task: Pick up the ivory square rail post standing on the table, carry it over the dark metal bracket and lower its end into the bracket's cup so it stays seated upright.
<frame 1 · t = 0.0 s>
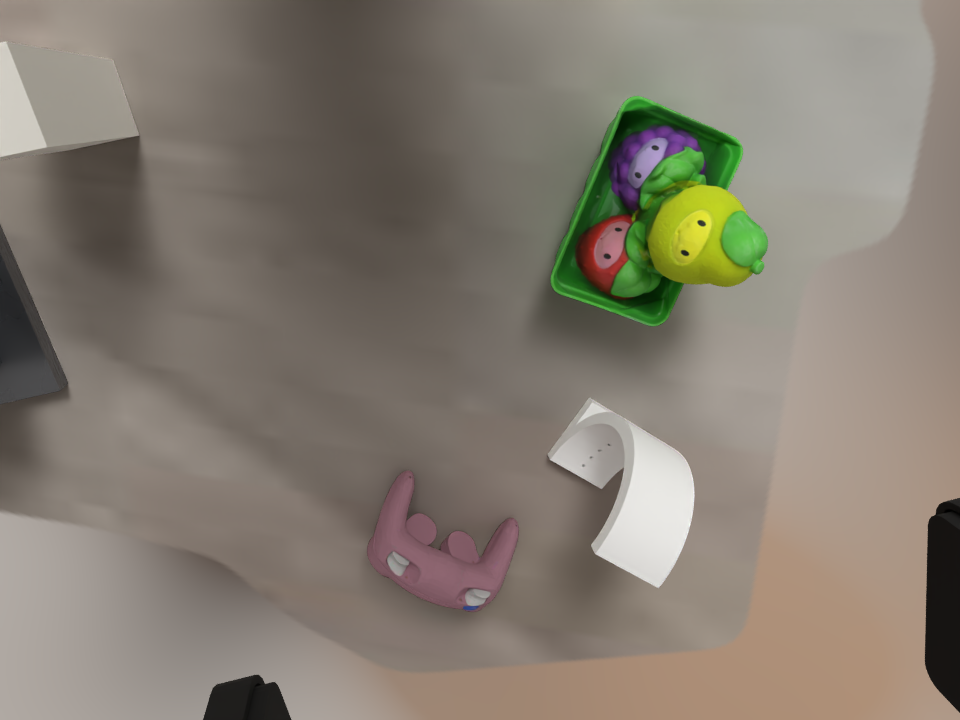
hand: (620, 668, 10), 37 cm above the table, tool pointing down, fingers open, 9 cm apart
fruit basket: (625, 208, 46), on the table
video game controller: (442, 521, 52), on the table
headphone stand: (597, 434, 51), on the table
rail post: (90, 105, 40), on the table
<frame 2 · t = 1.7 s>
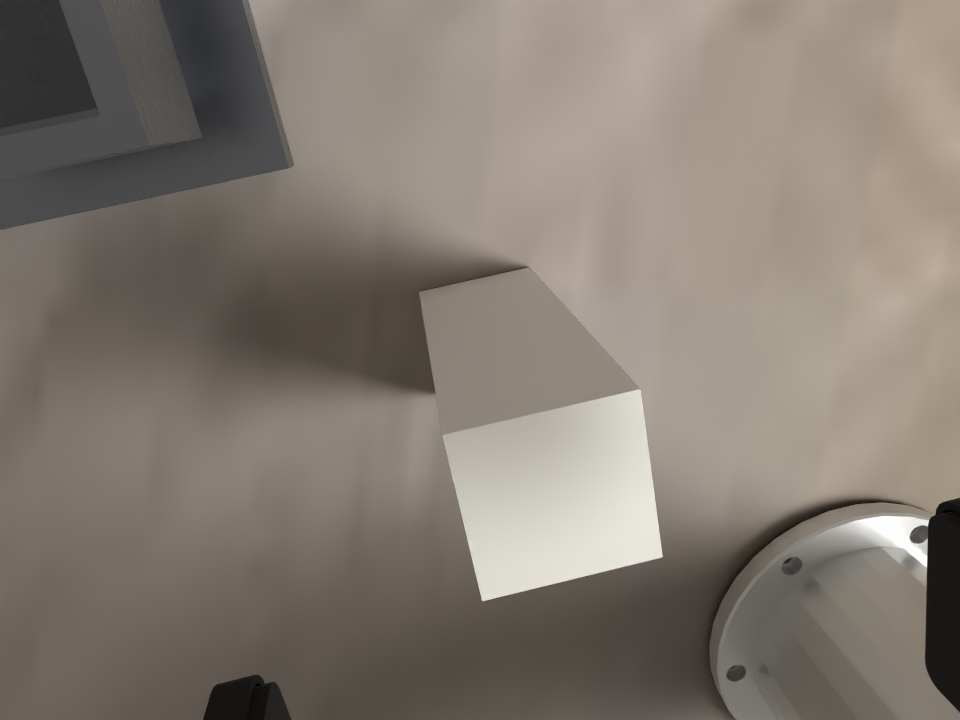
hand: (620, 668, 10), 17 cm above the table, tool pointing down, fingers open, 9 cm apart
rail post: (485, 332, 26), on the table
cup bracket: (81, 30, 22), on the table
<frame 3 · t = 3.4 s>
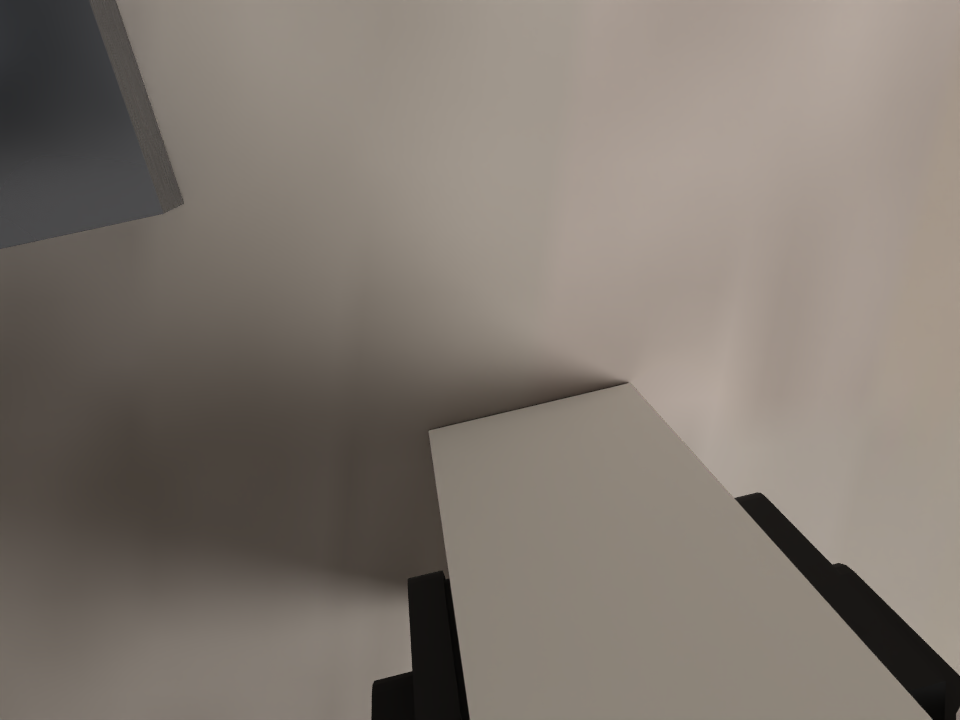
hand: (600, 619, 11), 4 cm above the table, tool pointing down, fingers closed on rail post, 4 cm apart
rail post: (547, 495, 15), on the table, touching gripper
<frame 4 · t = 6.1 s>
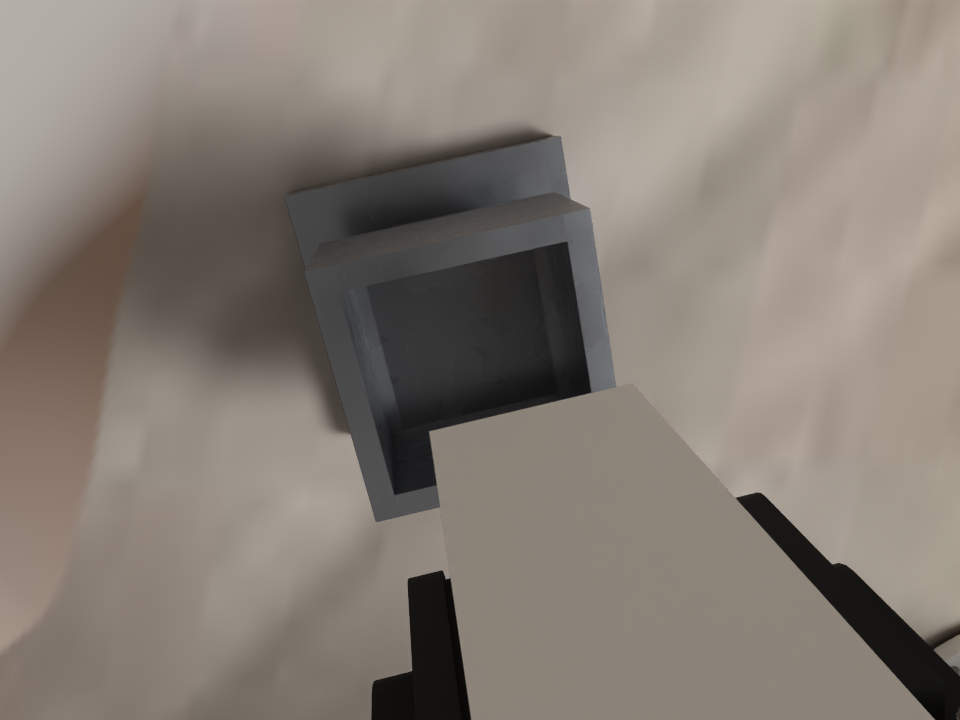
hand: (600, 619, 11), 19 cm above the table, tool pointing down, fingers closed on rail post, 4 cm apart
rail post: (548, 496, 15), point 15 cm above the table, touching gripper
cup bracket: (450, 293, 29), on the table
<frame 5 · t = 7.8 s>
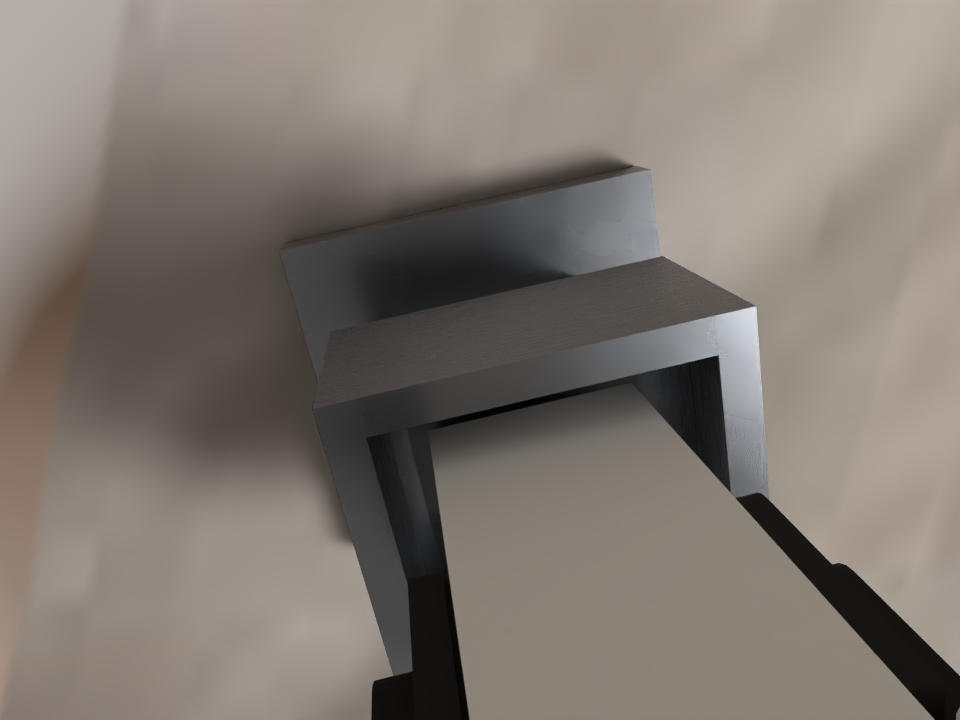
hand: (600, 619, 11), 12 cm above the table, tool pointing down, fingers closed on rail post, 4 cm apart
rail post: (547, 495, 15), point 8 cm above the table, touching gripper
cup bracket: (496, 368, 22), on the table
when the fingers open (11 cm above the table, at t = 9.0 s): rail post stays where it is, resting on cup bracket.
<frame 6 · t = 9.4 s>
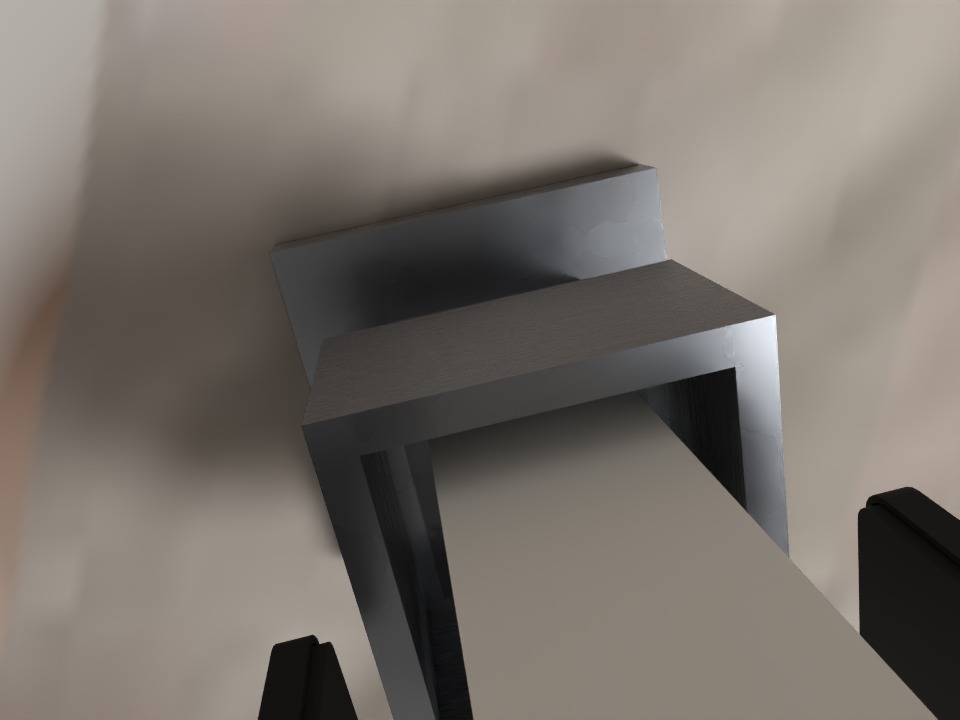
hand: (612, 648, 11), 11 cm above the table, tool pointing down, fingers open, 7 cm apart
rail post: (537, 475, 16), point 6 cm above the table, touching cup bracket
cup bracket: (495, 374, 21), on the table
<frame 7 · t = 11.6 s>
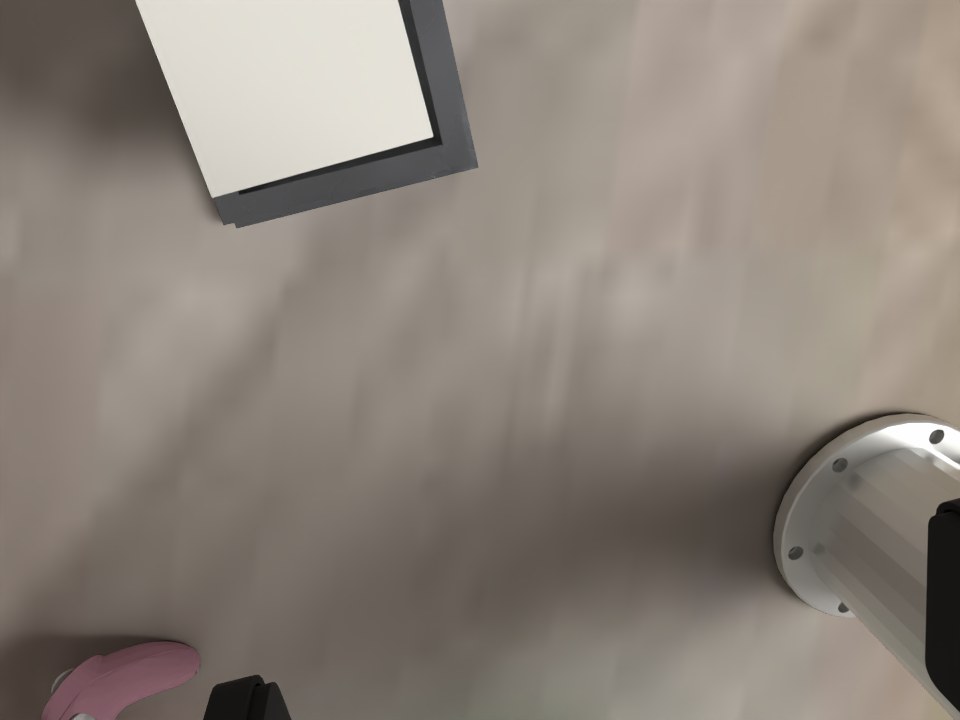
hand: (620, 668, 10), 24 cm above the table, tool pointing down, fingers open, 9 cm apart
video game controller: (117, 695, 38), on the table
rail post: (316, 65, 23), point 6 cm above the table, touching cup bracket
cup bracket: (323, 67, 29), on the table
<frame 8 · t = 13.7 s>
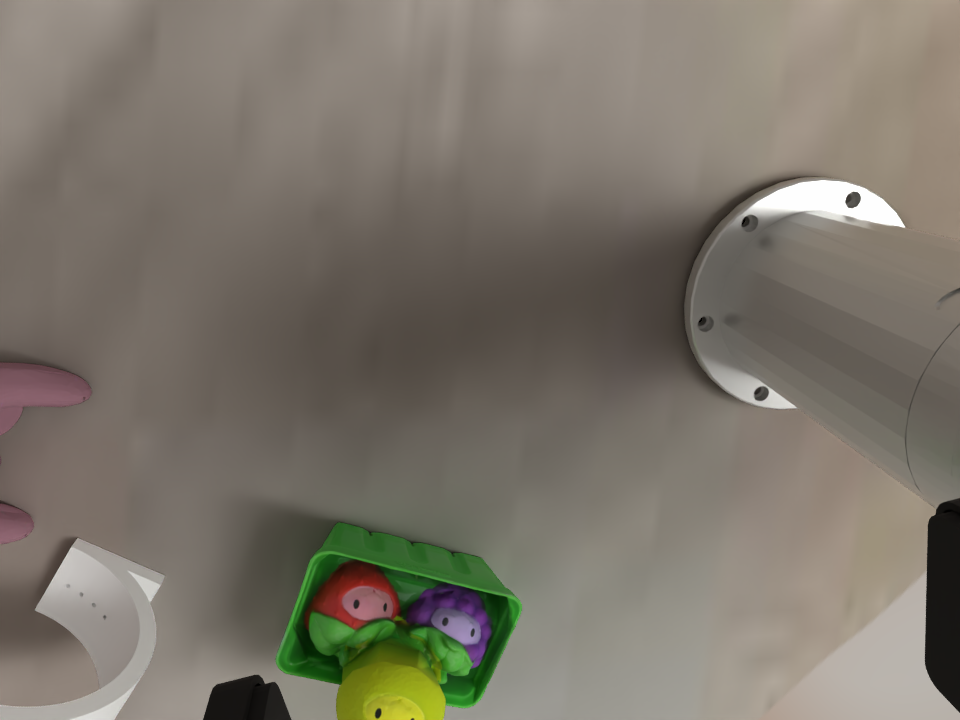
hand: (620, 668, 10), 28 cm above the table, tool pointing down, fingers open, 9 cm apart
fruit basket: (395, 582, 43), on the table
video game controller: (10, 432, 37), on the table
headphone stand: (113, 589, 41), on the table
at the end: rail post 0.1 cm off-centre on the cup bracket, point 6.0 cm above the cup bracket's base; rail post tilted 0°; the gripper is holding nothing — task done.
